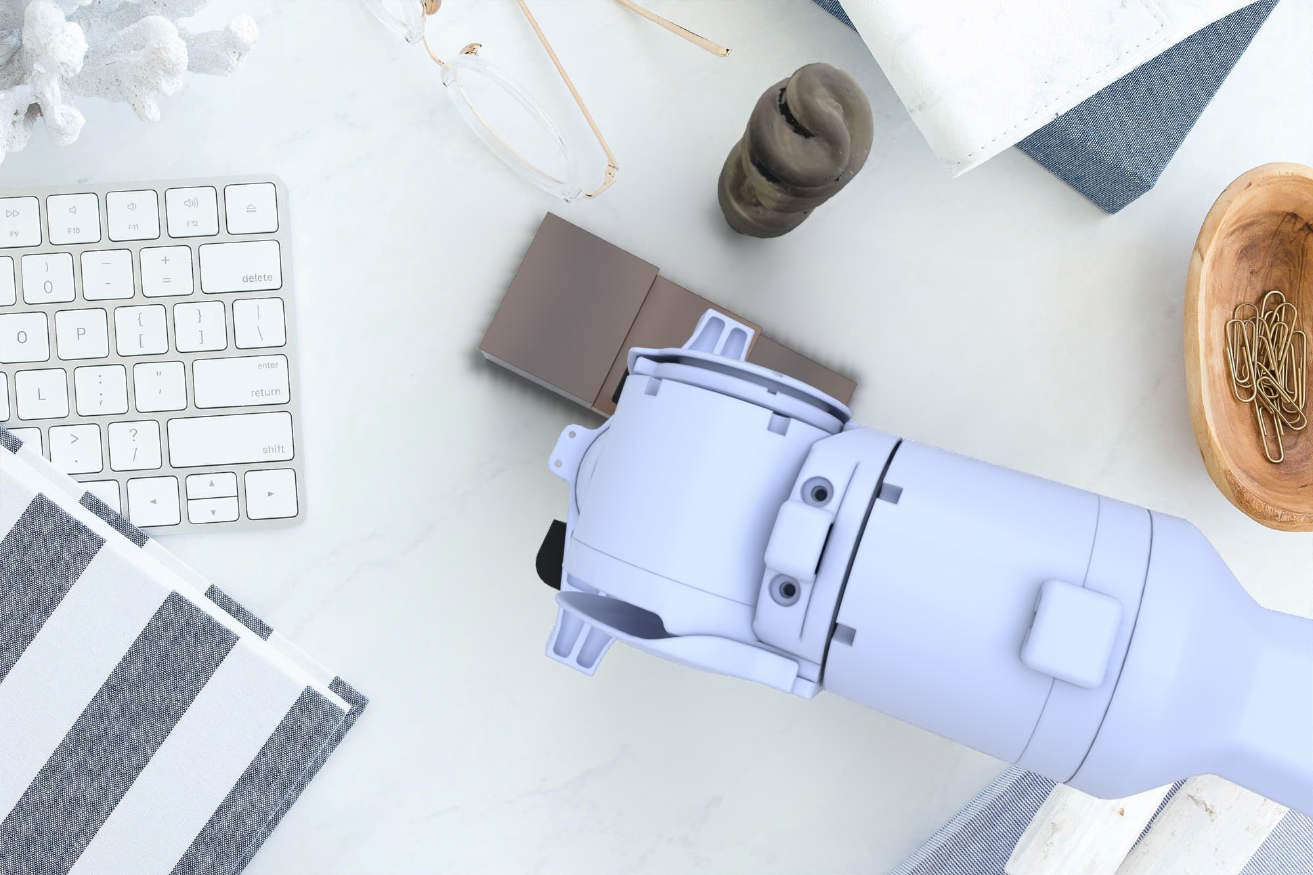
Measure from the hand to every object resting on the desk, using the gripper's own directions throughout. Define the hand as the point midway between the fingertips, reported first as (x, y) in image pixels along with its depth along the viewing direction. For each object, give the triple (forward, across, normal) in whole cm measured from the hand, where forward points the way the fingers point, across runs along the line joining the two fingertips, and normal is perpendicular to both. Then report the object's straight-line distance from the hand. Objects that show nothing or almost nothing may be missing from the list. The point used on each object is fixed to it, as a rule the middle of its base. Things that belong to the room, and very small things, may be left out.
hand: (631, 483), depth 44 cm
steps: (+8, -7, 0) cm, 11 cm away
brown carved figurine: (+8, -17, 0) cm, 19 cm away
